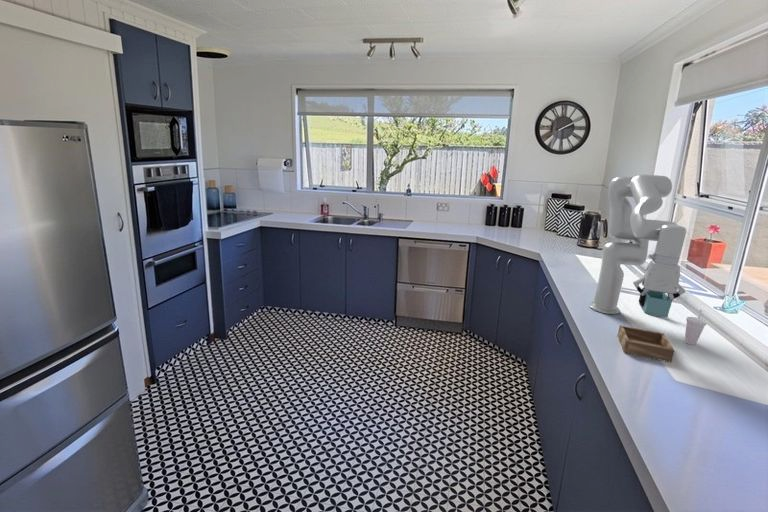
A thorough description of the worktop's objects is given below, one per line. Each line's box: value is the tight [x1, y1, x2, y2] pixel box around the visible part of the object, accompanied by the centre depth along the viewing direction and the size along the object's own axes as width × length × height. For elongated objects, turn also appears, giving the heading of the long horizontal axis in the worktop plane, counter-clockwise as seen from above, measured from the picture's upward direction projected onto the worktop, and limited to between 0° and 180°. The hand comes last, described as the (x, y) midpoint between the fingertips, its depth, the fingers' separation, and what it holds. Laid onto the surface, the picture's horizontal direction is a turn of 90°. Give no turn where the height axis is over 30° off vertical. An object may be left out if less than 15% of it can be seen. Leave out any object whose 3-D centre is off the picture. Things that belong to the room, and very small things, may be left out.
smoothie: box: [684, 309, 708, 346], centre depth 161 cm, size 6×6×14 cm
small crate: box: [638, 290, 673, 318], centre depth 150 cm, size 10×7×6 cm
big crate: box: [616, 325, 675, 363], centre depth 155 cm, size 15×15×4 cm
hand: (653, 306), depth 151 cm, fingers closed on small crate, 7 cm apart
